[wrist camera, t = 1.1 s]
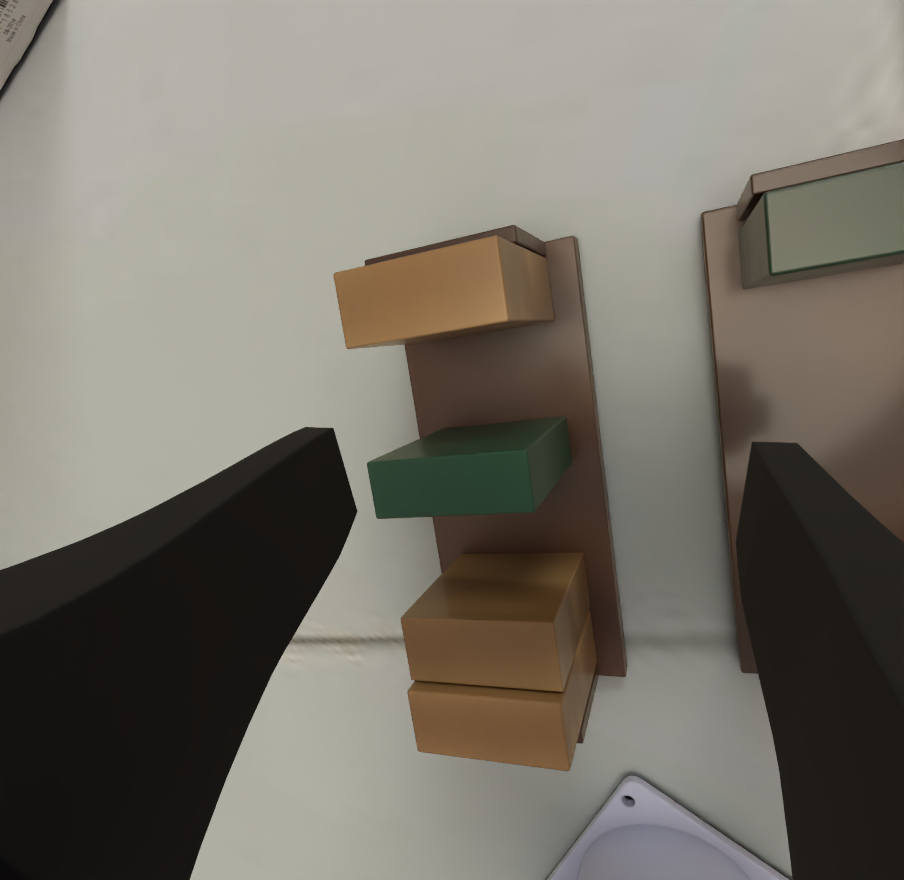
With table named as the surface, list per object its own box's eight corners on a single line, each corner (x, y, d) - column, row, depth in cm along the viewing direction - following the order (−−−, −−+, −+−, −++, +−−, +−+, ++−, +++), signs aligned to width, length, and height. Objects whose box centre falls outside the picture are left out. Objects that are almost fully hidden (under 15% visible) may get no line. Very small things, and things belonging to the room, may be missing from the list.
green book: (572, 463, 21) (535, 513, 16) (447, 472, 23) (375, 519, 18) (566, 415, 21) (526, 449, 16) (440, 428, 23) (365, 462, 17)
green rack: (981, 674, 19) (1132, 851, 12) (739, 661, 21) (762, 801, 15) (969, 158, 16) (1145, 58, 10) (700, 216, 19) (709, 165, 13)
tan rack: (627, 665, 23) (607, 794, 17) (462, 656, 26) (392, 764, 19) (577, 238, 21) (532, 202, 14) (401, 276, 23) (300, 260, 17)
